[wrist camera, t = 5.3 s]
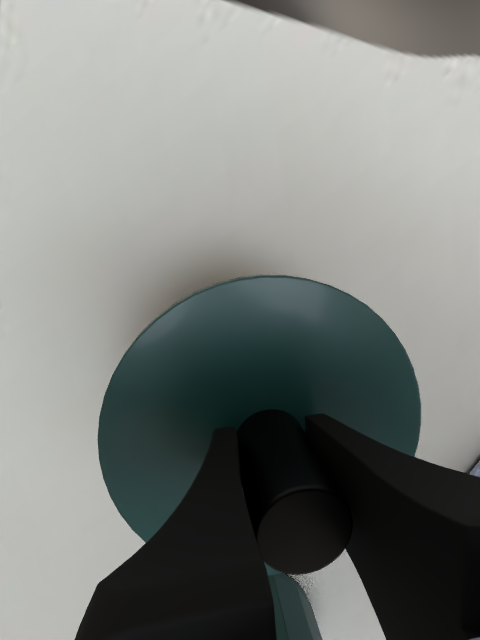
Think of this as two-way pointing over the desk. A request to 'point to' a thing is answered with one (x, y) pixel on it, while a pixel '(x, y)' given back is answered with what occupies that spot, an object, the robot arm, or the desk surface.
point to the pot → (292, 610)
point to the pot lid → (255, 408)
